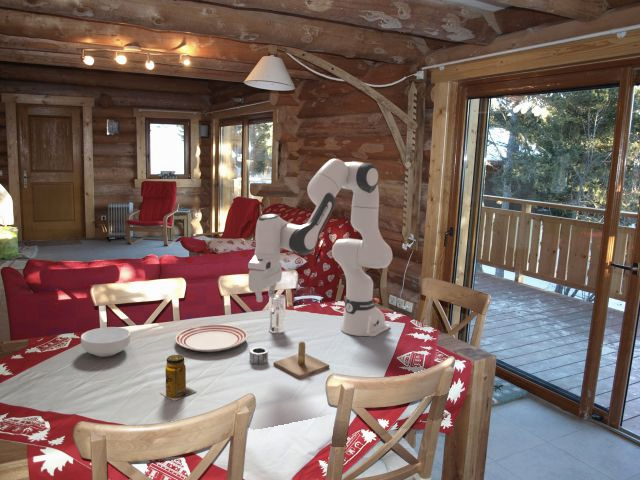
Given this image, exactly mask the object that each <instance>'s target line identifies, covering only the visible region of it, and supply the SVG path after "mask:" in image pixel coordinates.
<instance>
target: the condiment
mask: <svg viewBox="0 0 640 480" xmlns="http://www.w3.org/2000/svg"><path fill="white" fill-rule="evenodd" d="M186 368H187V367H186V364H185V357H184V355H181V354H171V355H169V356H167V358H166V365H165V369H164V370H165V371H164V372H165V390H164V391H163V392H160V394H161V395H163V396H164V397H165V398H168V399H169V400H172V401H173V402H175V401H177V400H180V399H183V398H185V397H187V396H189V395H192V394H194V393H196V392H197V390H194V389H192V388H190V387H189V386H187V380H186V378H187V377H186V371H187V370H186Z"/></svg>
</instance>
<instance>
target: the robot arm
mask: <svg viewBox="0 0 640 480" xmlns="http://www.w3.org/2000/svg"><path fill="white" fill-rule="evenodd" d="M379 181H380V172H379V169H378V167H377V166H376V165H375V164H372V163H370V162H361V161H343V160H341V159H339V158H332V159H329V160H328V161H327V162H325V163H324V164H323V165H322V166H321V167H320V168H319V170H317V171H316V173H315V175H313V177H312V178H311V179H310V180H309V182H308V185H307V189H306V190H307V195H308V198H309V199H310V200H311V202H312V203H313V204H314V205H315V208H314V210H313V212H312V213H311V216H310V217H309V219H308V220H307V222H306V223H304V224H301V225H300V224H296V223H291V222H288V221H286V220H284V219H283V218H282V217H280V215H279V214H276V213H267V214H262V215H260V216H258V219H257V221H256V226H255V236H254V239H255V249H254V255H253V256H252V258H251V260H249V261H248V264H247V267H248V269H249V271H248V289H249V291H250V292H254V294H255V296H256V303H261V302H263V300H264V296H263V295H262V294H263V290H265V289H268V288H269V290H268V291H267V293H268V294H267V295H268V296H273V295H274V294H275V290H276V286H277V283H279V282H281V281H282V278H283V275H282V274H283V271H282V269H283V268H282V263H281V262H280V259H281V257H280V256H281V254H280V253H281V249H283V250H285V251H289V252H294V253H295V254H298V255H300V256H307V255H309V254H310V253H312V252H313V251H314V250H315V249H316V247H317V244H318V241H319V238H320V237H321V234H322V231H323V229H324V228H325V225H326V224H327V222H328V221H329V219H330V217H331V215H332V212H333V211H334V208H335V206H336V196H337V195H338V194H339V193H340V191H341V189H344V190H351V191H352V193H353V195H352V200H351V211H350V225H351V227H352V228H353V229H354V230H355V231H356V232H358V233H359V234H360V235H361V237H362V239H358V238H349V237H347V238H339V239H337V240H335V242H334V244H333V245H332V248H331V253H332V258H333V259H334V261H335V262H337V264H338V265H339V266H340V268H341V269H342V271H343V274H344V276H345V282H346V287H345V288H346V292H345V293H346V295H345V296H344V297H345V298H344V309H343V314H342V315H343V316H342V321H341V322H340V325H341V326H340V331H341V332H343V333H345V334H347V335H351V336H357V337H362V336H363V337H365V336H366V337H376V336H378V335H380V334H382V333H383V332H385V331H387V330H389V329H390V328H391V325H390V324H389V323H388V322H386V317H385V314H384V313H383V312H382V311H381V310H380V309H379V308H378V307H376V305H375V303H376V304H379V302H380V299H379V298H376V297H373V293H374V281H373V279H372V277H371V276H370V275H368V274H366V272H365V271H364V270H363V268H369V269H370V268H371V269H385V268H387V267H389V266H390V264H391V263H392V261H393V251H392V248H391V247H390V245H389V244H388V243H387V242H386V241H385V239H384V238H383V236H382V235H381V232H380V229H379V209H380V207H379V205H380V194H379V192H380V191H379V186H378V183H379Z"/></svg>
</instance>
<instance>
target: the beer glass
mask: <svg viewBox="0 0 640 480" xmlns="http://www.w3.org/2000/svg"><path fill="white" fill-rule="evenodd" d="M268 296H269V295H268ZM268 299H269V300H268V313H269V321H270V325H269V330H268V332H269V333H271V334H282V333H284V330H285V329H284V320H285V319H284V318H285V314H286V295H285V294H280V293H277V294H276V293H274V295H273V296H269V298H268Z"/></svg>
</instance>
